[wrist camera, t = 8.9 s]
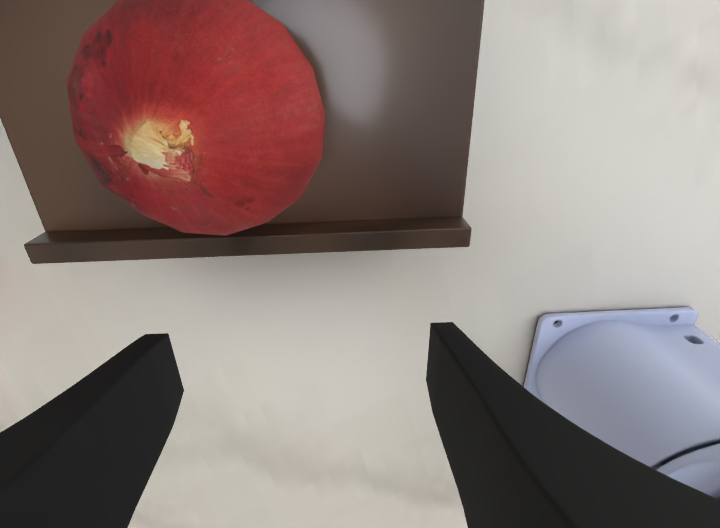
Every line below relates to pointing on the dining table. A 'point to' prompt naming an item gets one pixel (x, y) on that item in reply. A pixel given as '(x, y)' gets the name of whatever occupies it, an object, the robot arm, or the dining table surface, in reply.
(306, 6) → the shelf
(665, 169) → the dining table surface
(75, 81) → the onion
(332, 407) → the dining table surface
